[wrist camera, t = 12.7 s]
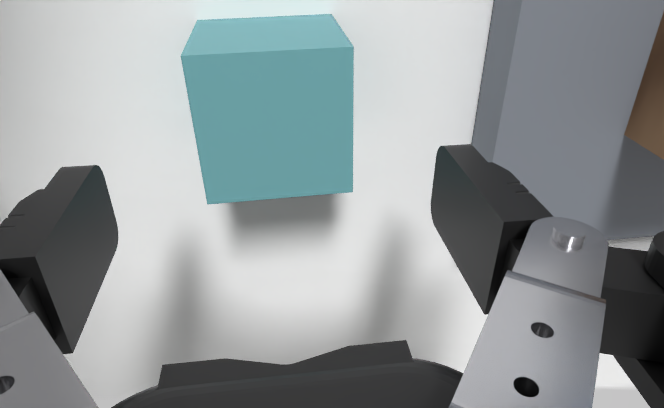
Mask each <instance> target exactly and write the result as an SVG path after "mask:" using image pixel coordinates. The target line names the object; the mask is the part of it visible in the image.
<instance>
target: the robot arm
mask: <svg viewBox="0 0 664 408" xmlns="http://www.w3.org/2000/svg"><path fill="white" fill-rule="evenodd" d="M431 214H432V219H433V223H434V225H435V227H436V229H437V231H438V233H439V234H440V236H441V238H442V240H443V242H444V243H445V245H446V247H447V249H448V250H449V252H450V254H451V256H452V258H453V259H454V261H455V263H456V265H457V266H458V268H459V270H460V272H461V274H462V275H463V277H464V279H465V281H466V282H467V284H468V286H469V288H470V290H471V291H472V293H473V295H474V297H475V298H476V300H477V302H478V304H479V306H480V307H481V309H482V311H483V313H484V314H488V317H487V319H486V321H485V324H484V326H483V329H482V331H481V333H480V336H479V338H478V340H477V343H476V345H475V347H474V350H473V352H472V355H471V357H470V359H469V362H468V364H467V366H466V369H465V371H464V373H461V372H459V371H457V370H455V369H452V368H450V367H447V366H444V365H441V364H438V363H435V362H430V361H426V360H421V359H413V358H412V356H411V353H410V350H409V347H408V344H407V342H406V340H403V341H394V342H384V343H374V344H364V345H354V346H347V347H344V348H341V349H338V350H335V351H332V352H329V353H325V354H322V355H319V356H316V357H313V358H310V359H307V360H304V361H300V362H297V363H294V364H289V365H280V364H271V363H261V362H252V361H242V360H233V359H216V360H207V361H197V362H187V363H177V364H167V365H162V370H161V374H160V379H159V384H158V386H155V387H152V388H149V389H146V390H144V391H142V392H139V393H137V394H134V395H133V396H131V397H129V398H127V399H125V400H123V401H121V402H119V403H118V404H116V405H115V406H113V407H112V408H592V403H593V397H594V389H595V382H596V375H597V367H598V360H599V353H603V354H610V355H613V356H614V357H615V359H616V360H617V362H618V363H619V364H620V366H621V367H622V369H623V370H624V371H625V373H626V374H627V376H628V377H629V378H630V380H631V381H632V382H633V384H634V385H635V387H636V388H637V389H638V391H639V392H640V394H641V395H642V396H643V398H644V399H645V400H646V402H647V403H648V405H649V406H650V407H651V408H664V231H661V232H659V233H657V234H656V235H655V236H654V238H653V240H652V243H651V245H650V248H649V250H648V251H640V250H631V249H623V248H614V247H608V242H607V239H606V238H605V236H604V235H603V234H602V233H601V232H599V231H598V230H597V229H595V228H593V227H592V226H590V225H588V224H586V223H583V222H580V221H577V220H574V219H569V218H563V217H554V216H553V215H552V214H551V213H550V212H549V211H548V210H547V209H546V208H545V207H544V206H543V205H542V204H541V203H540V202H539V201H538V200H537V199H536V198H535V197H534V196H533V195H532V193H529V190H528V189H527V188H526V187H525V186H524V185H523V184H520V181H519V180H518V179H517V178H516V177H515V176H514V175H513V174H512V173H511V172H510V171H509V170H507V169H505V168H503V167H501V166H499V165H497V164H495V163H493V162H487V161H486V160H485V158H484V157H483V156H482V155H481V154H480V153H479V152H478V151H477V150H476V149H475V148H474V146H472V145H471V144H467V145H449V146H440V147H439V149H438V151H437V156H436V163H435V172H434V180H433V189H432V198H431ZM117 244H118V227H117V222H116V218H115V215H114V211H113V207H112V204H111V200H110V196H109V193H108V189H107V185H106V182H105V178H104V175H103V172H102V170H101V168H100V167H99V166H97V165H91V166H74V167H62V168H60V169H59V171H58V172H57V173H56V174H55V176H54V177H53V178H52V180H51V181H50V182H49V184H48V185H47V186H46V187H45V189H40V190H37V191H36V192H34V193H32V194H31V195H29V196H28V197H26V198H25V199H23V200H21V201H20V202H19V203H18V204H17V205H16V206H15V208H14V209H13V210H12V211H11V213H10V214H9V215H8V218H6V219H5V220H4V221H3V222H2V223H1V225H0V408H98V406H97V405H96V403H95V402H94V400H93V399H92V397H91V396H90V394H89V393H88V391H87V390H86V388H85V387H84V385H83V384H82V382H81V381H80V379H79V378H78V376H77V375H76V373H75V372H74V370H73V369H72V367H71V366H70V364H69V363H68V361H67V360H66V358H65V357H64V355H63V354H69V353H73V352H74V349H75V347H76V344H77V342H78V340H79V337H80V335H81V333H82V330H83V328H84V325H85V323H86V321H87V318H88V316H89V313H90V311H91V309H92V306H93V304H94V301H95V299H96V297H97V294H98V292H99V290H100V287H101V285H102V282H103V280H104V278H105V275H106V273H107V270H108V268H109V266H110V263H111V261H112V258H113V256H114V254H115V251H116V249H117Z"/></svg>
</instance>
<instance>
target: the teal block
mask: <svg viewBox="0 0 664 408" xmlns="http://www.w3.org/2000/svg"><path fill="white" fill-rule="evenodd" d="M353 49H354V47H353V45H352V44H351V42H350V41H349V39H348V38H347V36H346V35H345V33H344V32H343V30H342V29H341V28H340V26H339V25H338V23H337V22H336V20H335V19H334V17H333V16H332V14H322V15H300V16H278V17H256V18H234V19H212V20H197V22H196V24H195V26H194V29H193V31H192V33H191V35H190V37H189V39H188V41H187V44H186V46H185V48H184V50H183V52H182V54H181V60H182V65H183V71H184V76H185V82H186V88H187V93H188V99H189V104H190V110H191V115H192V121H193V127H194V132H195V138H196V143H197V149H198V155H199V160H200V166H201V171H202V177H203V182H204V188H205V194H206V199H207V204H218V203H229V202H241V201H253V200H265V199H277V198H288V197H300V196H312V195H324V194H335V193H347V192H353Z"/></svg>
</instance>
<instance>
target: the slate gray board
mask: <svg viewBox="0 0 664 408" xmlns="http://www.w3.org/2000/svg"><path fill="white" fill-rule="evenodd" d="M663 12H664V0H494V6H493V12H492V19H491V25H490V31H489V38H488V44H487V51H486V57H485V63H484V70H483V76H482V82H481V89H480V95H479V101H478V108H477V114H476V120H475V127H474V133H473V139H472V146H474V148H475V149H476V150H477V151H478V152H479V153H480V154H481V155H482V156H483V157H484V158H485V160H486V161H487V162H493V163H495V164H497V165H499V166H501V167H503V168H505V169H507V170H509V171H510V172H511V173H512V174H513V175H514V176H515V177H516V178H517V179H518V180H519V181H520V184H523V185H524V186H525V187H526V188H527V189H528V190H529V193H532V195H533V196H534V197H535V198H536V199H537V200H538V201H539V202H540V203H541V204H542V205H543V206H544V207H545V208H546V209H547V210H548V211H549V212H550V213H551V214H552V215H553V216H554V217H563V218H569V219H574V220H577V221H580V222H583V223H586V224H588V225H590V226H592V227H593V228H595V229H597V230H598V231H599V232H601V233H602V234H603V235H604V236H605V238H606V239H607V240H614V239H625V238H636V237H647V236H655V235H656V234H657V233H659V232H661V231H664V160H663V159H662V158H660V157H658V156H657V155H655V154H654V153H652V152H650V151H649V150H647V149H646V148H644V147H643V146H641V145H639V144H638V143H636V142H635V141H633V140H632V139H630V138H628V137H627V136H625V135H624V133H625V130H626V127H627V124H628V121H629V118H630V115H631V112H632V108H633V105H634V102H635V99H636V96H637V93H638V90H639V87H640V84H641V80H642V77H643V74H644V71H645V68H646V65H647V62H648V59H649V55H650V52H651V49H652V46H653V43H654V40H655V37H656V34H657V31H658V27H659V24H660V21H661V18H662V15H663Z"/></svg>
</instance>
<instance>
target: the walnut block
mask: <svg viewBox="0 0 664 408" xmlns="http://www.w3.org/2000/svg"><path fill="white" fill-rule="evenodd" d="M624 135H625V136H627V137H628V138H630V139H632V140H633V141H635V142H636V143H638V144H639V145H641V146H643V147H644V148H646V149H647V150H649V151H650V152H652V153H654V154H655V155H657V156H658V157H660V158H662V159H663V160H664V12H663V15H662V18H661V21H660V24H659V27H658V31H657V34H656V37H655V40H654V43H653V46H652V49H651V52H650V55H649V59H648V62H647V65H646V68H645V71H644V74H643V77H642V80H641V84H640V87H639V90H638V93H637V96H636V99H635V102H634V105H633V108H632V112H631V115H630V118H629V121H628V124H627V127H626V130H625V133H624Z"/></svg>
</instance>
